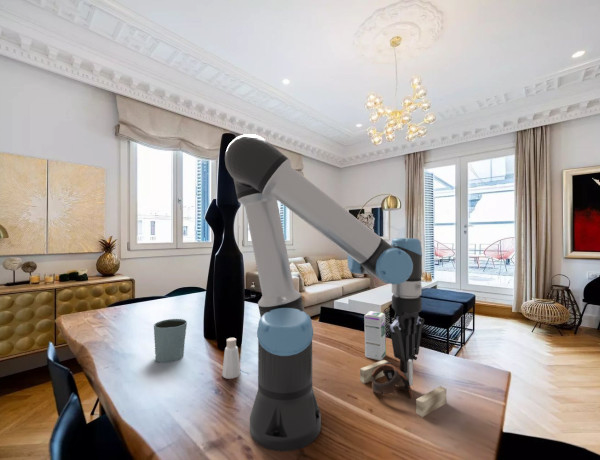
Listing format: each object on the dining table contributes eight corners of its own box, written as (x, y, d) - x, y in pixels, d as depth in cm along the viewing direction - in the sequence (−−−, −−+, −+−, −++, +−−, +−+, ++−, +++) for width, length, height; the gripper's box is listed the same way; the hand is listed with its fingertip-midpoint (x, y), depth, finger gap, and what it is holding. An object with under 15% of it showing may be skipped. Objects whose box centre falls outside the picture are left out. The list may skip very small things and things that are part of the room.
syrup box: (381, 361, 91) (381, 316, 92) (364, 357, 95) (364, 314, 95) (386, 354, 96) (386, 312, 96) (369, 351, 99) (369, 310, 100)
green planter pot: (148, 359, 93) (149, 323, 94) (178, 349, 101) (179, 316, 101) (160, 368, 87) (160, 330, 87) (192, 358, 94) (192, 322, 94)
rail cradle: (422, 420, 62) (422, 402, 62) (360, 382, 78) (360, 368, 78) (446, 405, 68) (446, 388, 68) (384, 373, 84) (383, 359, 84)
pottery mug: (419, 408, 67) (404, 380, 66) (383, 419, 69) (368, 393, 68) (408, 372, 78) (395, 349, 78) (377, 383, 81) (364, 360, 80)
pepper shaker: (220, 374, 83) (220, 337, 83) (238, 370, 85) (238, 334, 85) (223, 383, 78) (223, 343, 78) (242, 379, 80) (242, 340, 80)
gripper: (403, 301, 68) (403, 397, 68) (433, 294, 76) (433, 382, 75) (379, 295, 75) (379, 384, 74) (408, 290, 82) (409, 370, 81)
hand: (406, 383), depth 75 cm, fingers closed
